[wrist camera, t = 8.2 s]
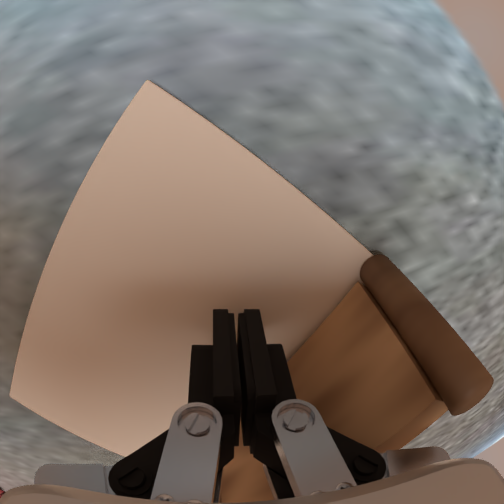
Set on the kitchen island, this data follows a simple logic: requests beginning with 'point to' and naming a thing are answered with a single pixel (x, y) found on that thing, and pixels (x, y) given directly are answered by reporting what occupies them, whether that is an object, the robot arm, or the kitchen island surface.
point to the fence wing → (374, 372)
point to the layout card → (170, 273)
